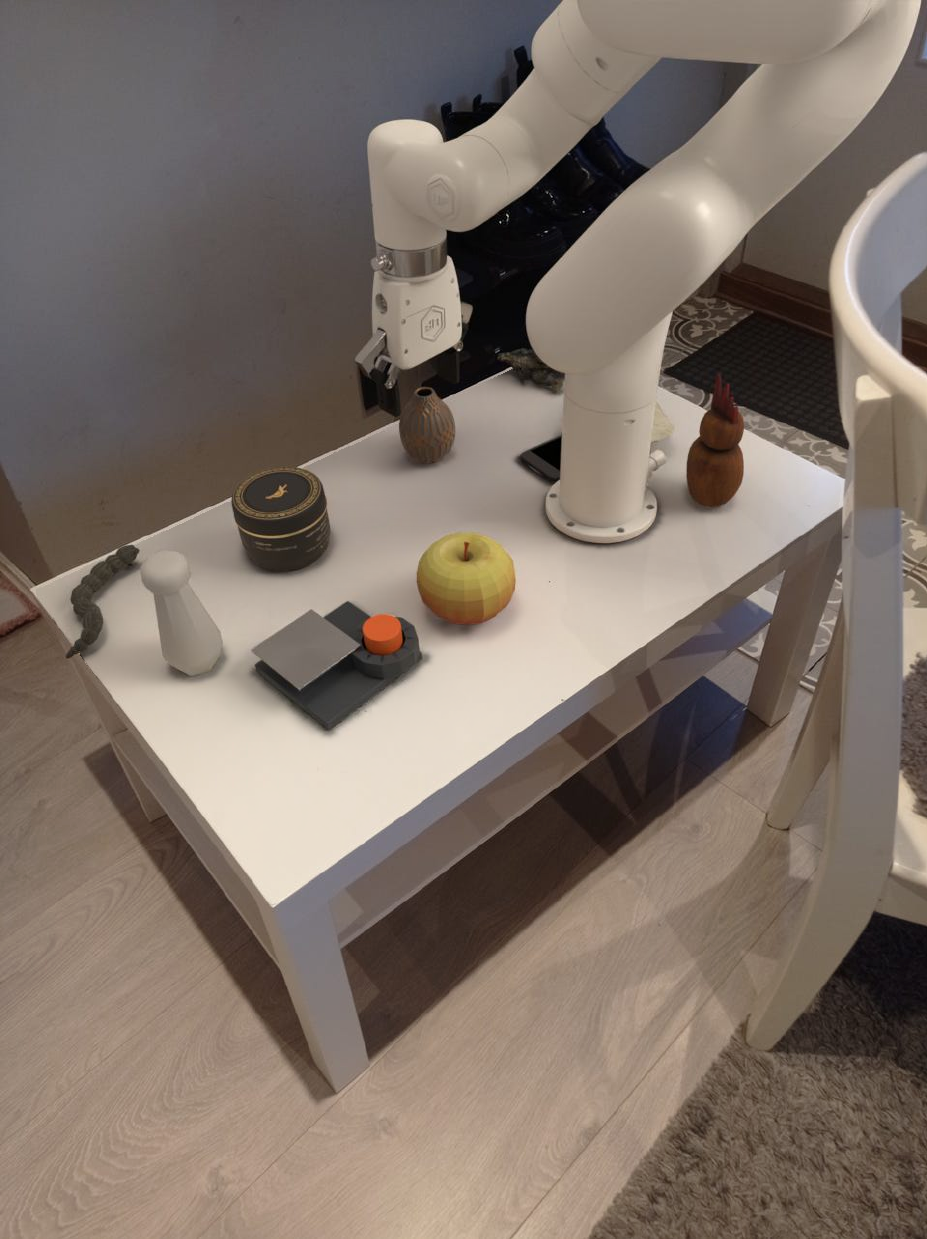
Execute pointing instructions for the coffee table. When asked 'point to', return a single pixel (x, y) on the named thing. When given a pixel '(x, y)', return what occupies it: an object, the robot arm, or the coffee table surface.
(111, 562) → the toy
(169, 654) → the salt shaker
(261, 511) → the jar
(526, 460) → the smartphone
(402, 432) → the vase
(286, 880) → the coffee table surface
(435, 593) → the apple
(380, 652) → the button
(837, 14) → the robot arm
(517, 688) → the coffee table surface
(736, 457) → the wooden figurine
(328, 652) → the plate
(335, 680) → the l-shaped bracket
